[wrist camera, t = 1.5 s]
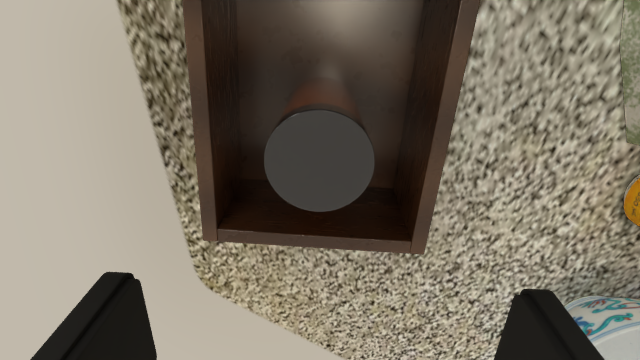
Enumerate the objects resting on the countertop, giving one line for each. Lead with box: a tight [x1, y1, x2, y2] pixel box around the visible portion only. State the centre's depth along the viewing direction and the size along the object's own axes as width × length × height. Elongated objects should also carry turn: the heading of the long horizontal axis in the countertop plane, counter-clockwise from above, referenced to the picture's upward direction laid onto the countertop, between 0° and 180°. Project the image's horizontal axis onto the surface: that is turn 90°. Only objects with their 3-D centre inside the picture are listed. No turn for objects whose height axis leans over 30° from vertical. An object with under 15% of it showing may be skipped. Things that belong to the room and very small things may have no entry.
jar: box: [264, 77, 375, 212], centre depth 25 cm, size 6×6×10 cm
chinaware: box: [564, 296, 640, 360], centre depth 36 cm, size 15×15×8 cm
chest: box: [182, 0, 480, 254], centre depth 26 cm, size 18×15×9 cm
